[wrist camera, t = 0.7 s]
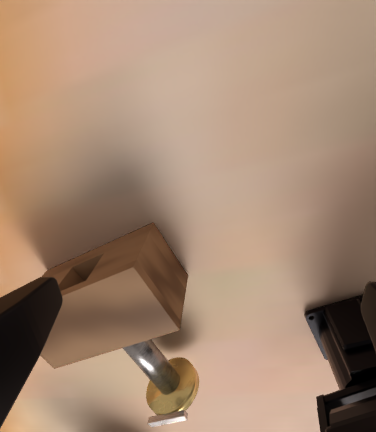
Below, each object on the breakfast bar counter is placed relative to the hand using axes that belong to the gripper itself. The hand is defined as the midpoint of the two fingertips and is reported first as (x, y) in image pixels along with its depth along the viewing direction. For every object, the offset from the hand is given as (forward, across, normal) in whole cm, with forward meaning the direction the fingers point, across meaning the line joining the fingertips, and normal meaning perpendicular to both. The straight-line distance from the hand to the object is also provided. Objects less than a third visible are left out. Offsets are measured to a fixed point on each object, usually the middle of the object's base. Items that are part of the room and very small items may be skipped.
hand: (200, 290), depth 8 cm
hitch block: (+14, +9, +10) cm, 19 cm away
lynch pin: (+13, +6, +16) cm, 22 cm away
